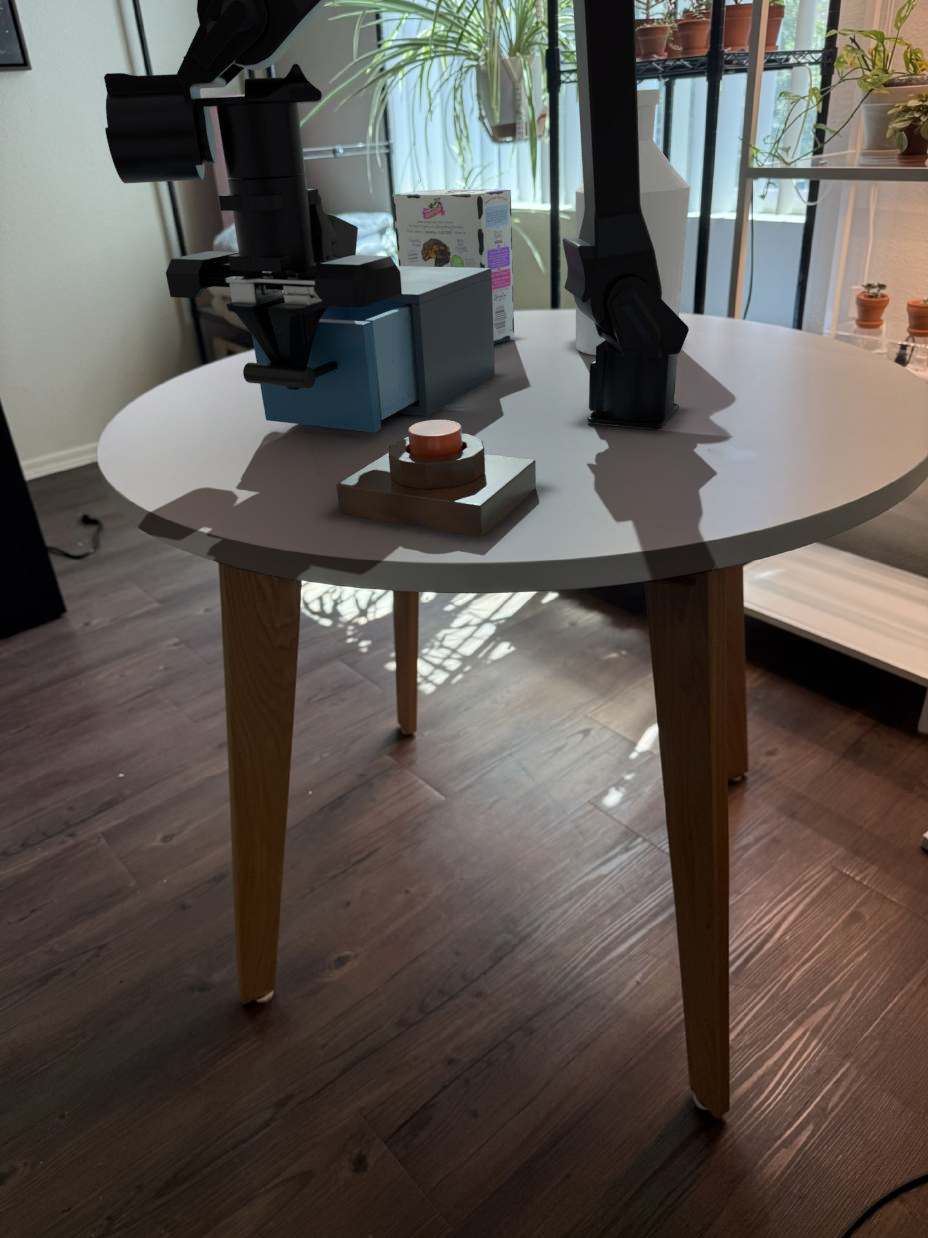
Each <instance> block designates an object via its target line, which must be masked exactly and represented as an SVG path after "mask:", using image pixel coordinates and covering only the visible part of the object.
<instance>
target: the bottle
mask: <svg viewBox="0 0 928 1238" xmlns="http://www.w3.org/2000/svg"><path fill="white" fill-rule="evenodd" d="M637 101H638V137H639V173H640V204H641V209H642V213H643V216H644V219H645V222H646V226H647V229H648V232H649V235H650V238H651V241H652V244H653V247H654V250H655V255H656V260H657V266H658V271H659V276H660V282H661V287H662V298H661V299H662V300H663V301H664V302H665V303H666V304H667V305H668V306H669V307H670V308H671V309H672V310H673V311H674V313H675V314H676V315H677V316H678V317H679V318H680V307H681V296H682V284H683V283H682V282H683V272H684V263H685V261H684V260H685V249H686V239H687V227H688V216H689V203H690V193H691V186H690V185H689V183H688V182H687V181H686V180H685V179H684V178H683V176H682V175H681V174H679V172H678V171H677V170H676V169H675V167H674V166H673V165H672V163H671V162H670V161H669V160H668V158H667V156H665V154H664V153H663V151H662V150H661V148H660V147H659V146H658V144H657V143H656V142H655V140H654V133H655V120H656V108H657V105H659V104H660V88H659V89H658V88H657V89H637ZM584 209H585V203H584V185H583V182H582V183H581V184H580V185H579V186H578V187H577V188H576V190H575V238H579V235H580V230H581V226H582V221H583V217H584ZM603 341H605V339H604V338H602V337H600V336H599V335H598V333H597V330H596V327H595V324H594V322H593V321H592V320H591V319H590V318H588V317H587V316H586V315H585V314H584V313H582V312H581V311H580V309H579V308H578V307H577V305H576V304H575V348H576V350H577V351H579V352H581V353H584V354H587V355H592V356H596V346H597V345H599V344H600V343H602V342H603Z"/></svg>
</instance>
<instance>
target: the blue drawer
mask: <svg viewBox="0 0 928 1238" xmlns="http://www.w3.org/2000/svg"><path fill="white" fill-rule="evenodd" d="M251 336H252V335H251ZM252 345H253V349H254V355H255V362H247V363H246V364H245V365H244V367H243V370H242V374H243V378H244V380H245V382H246V383H249V384H258V385H259V386H260V392H261V397H262V405H263V411H264V416H265V421H269V422H276V423H277V422H278V423H286V424H287V423H288V424H296V425H304V426H313V427H322V428H330V429H338V430H339V429H340V430H348V431H357V432H366V433H374V434H375V433H377V432H378V431H380V430H381V429H382V421H383V420H384V419H387V418H388V417H391V416H392V415H394V414H396V413H395V412H397V411H399V410H401V409H403V408H405V407H406V406H408V405H410V404H412V403H414V402H415V401H417V400H419V392H418V379H417V366H416V352H415V339H414V326H413V312H412V304H403V303H379V302H378V303H375V304H372V305H369V306H365V307H339V306H330V307H328V308H327V309H326V311H325V312H324V314H323V315H322V317H321V318H320V320H319V323H318V326H317V329H316V332H315V335H314V338H313V342H312V346H311V352H310V356H309V361H308V365H307V367H300V366H287V365H275V364H271V362H270V361H269V359H268V357H267V356H266V354H265V353H264V351H263V350H262V348H261V347H260V345H259V344H258V342H257V341H256V340H255V338H254V337H253V336H252ZM286 386H289V387H300V389H298V390H291V389H288V388H287V387H286Z"/></svg>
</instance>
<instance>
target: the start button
mask: <svg viewBox="0 0 928 1238" xmlns="http://www.w3.org/2000/svg"><path fill="white" fill-rule="evenodd" d="M407 430H408V431H407V432H408V437H409V445H410V454H411V455H413V456H419V457H428V458H433V457H446V456H450V455H453V454H457V453H460V452H461V451H462V434H463V432H462V425H461V423H459V422H457V421H454V420H449V419H430V420H423V421H419V422H416V423H413V424H411V425H410V426H409V427H408V429H407Z"/></svg>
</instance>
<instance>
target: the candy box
mask: <svg viewBox="0 0 928 1238" xmlns="http://www.w3.org/2000/svg"><path fill="white" fill-rule="evenodd" d="M391 197H392V207H393V216H394V218H393V219H394V228H395V238H396V241H395V242H396V249H397V250H396V252H397V261H398V266H417V267H463V268H491V271H492V303H493V335H494V345H495V344H500V343H502V342H506V341H509V340H513V339H515V310H514V308H515V307H514V272H513V271H514V270H513V269H514V268H513V227H512V226H513V225H512V223H513V222H512V190H511V189H488V188H487V189H486V188H485V189H479V188H477V189H476V188H475V189H474V188H473V189H471V188H468V189H467V188H466V189H465V188H464V189H463V188H462V189H461V188H460V189H459V188H458V189H457V188H456V189H455V188H454V189H453V188H451V189H450V188H448V189H447V188H446V189H423V190H415V191H407V192H400V193H399V192H398V193H393V194H392V195H391Z"/></svg>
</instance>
